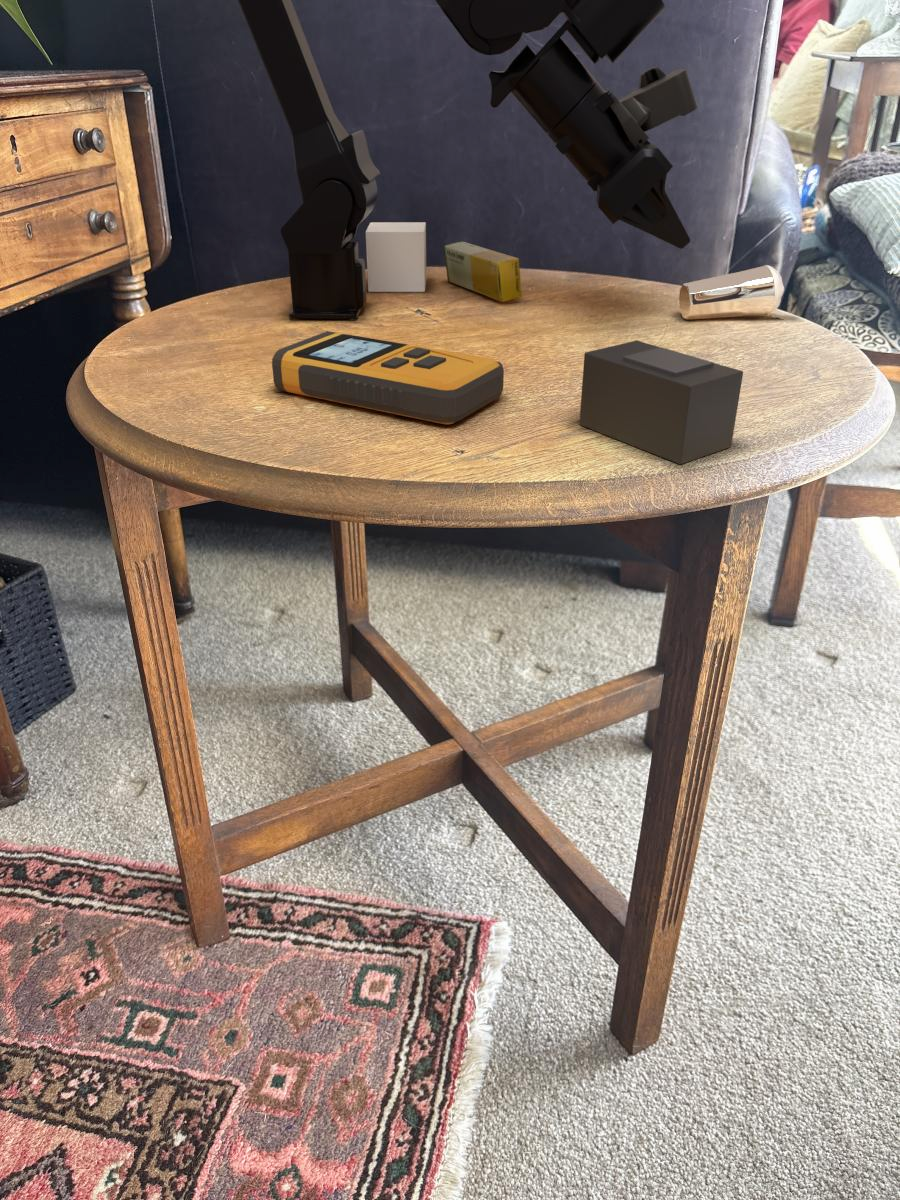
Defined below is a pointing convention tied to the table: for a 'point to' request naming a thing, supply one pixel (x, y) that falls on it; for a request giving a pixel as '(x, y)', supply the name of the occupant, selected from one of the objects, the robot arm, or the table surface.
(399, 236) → the white cube
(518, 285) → the medication box
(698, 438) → the block
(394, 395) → the electronic device
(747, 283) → the milkshake
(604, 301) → the table surface
